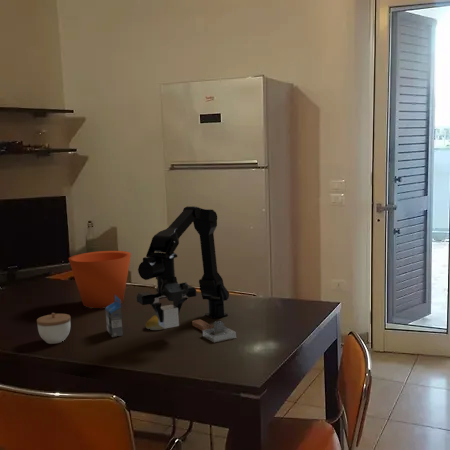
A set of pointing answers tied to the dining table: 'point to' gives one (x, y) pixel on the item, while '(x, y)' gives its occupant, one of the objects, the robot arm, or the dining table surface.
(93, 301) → the flowerpot
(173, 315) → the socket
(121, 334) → the grey and blue box
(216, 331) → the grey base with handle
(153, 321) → the bread roll
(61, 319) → the lidded jar
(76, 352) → the dining table surface
